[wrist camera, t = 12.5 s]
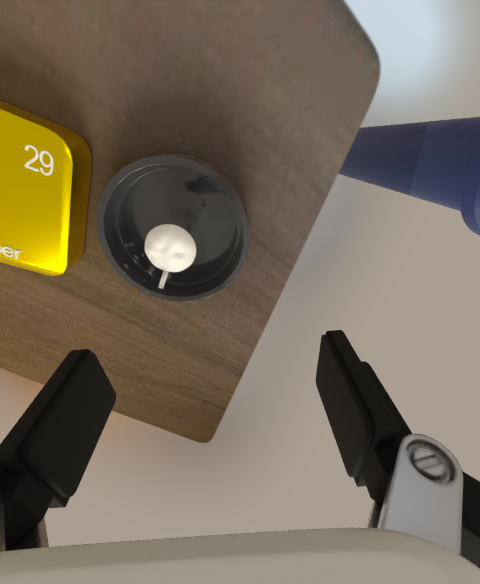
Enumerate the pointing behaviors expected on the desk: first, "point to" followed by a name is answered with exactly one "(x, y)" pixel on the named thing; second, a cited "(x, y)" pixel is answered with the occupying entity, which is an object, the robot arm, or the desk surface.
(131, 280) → the pan
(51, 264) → the element tile
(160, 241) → the milkshake
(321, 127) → the desk surface
